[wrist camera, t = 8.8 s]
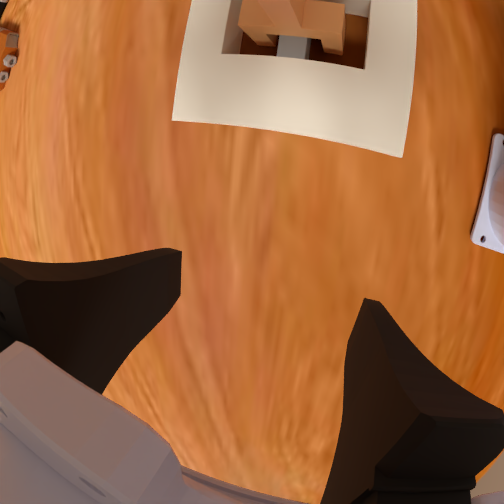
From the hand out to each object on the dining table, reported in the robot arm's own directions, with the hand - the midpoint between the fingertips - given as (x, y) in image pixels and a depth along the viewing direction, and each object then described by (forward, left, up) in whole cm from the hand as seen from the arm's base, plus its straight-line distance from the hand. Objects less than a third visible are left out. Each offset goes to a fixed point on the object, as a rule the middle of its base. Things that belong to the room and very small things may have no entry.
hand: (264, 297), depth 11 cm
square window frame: (+2, -13, -10) cm, 17 cm away
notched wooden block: (+2, -13, -10) cm, 17 cm away
